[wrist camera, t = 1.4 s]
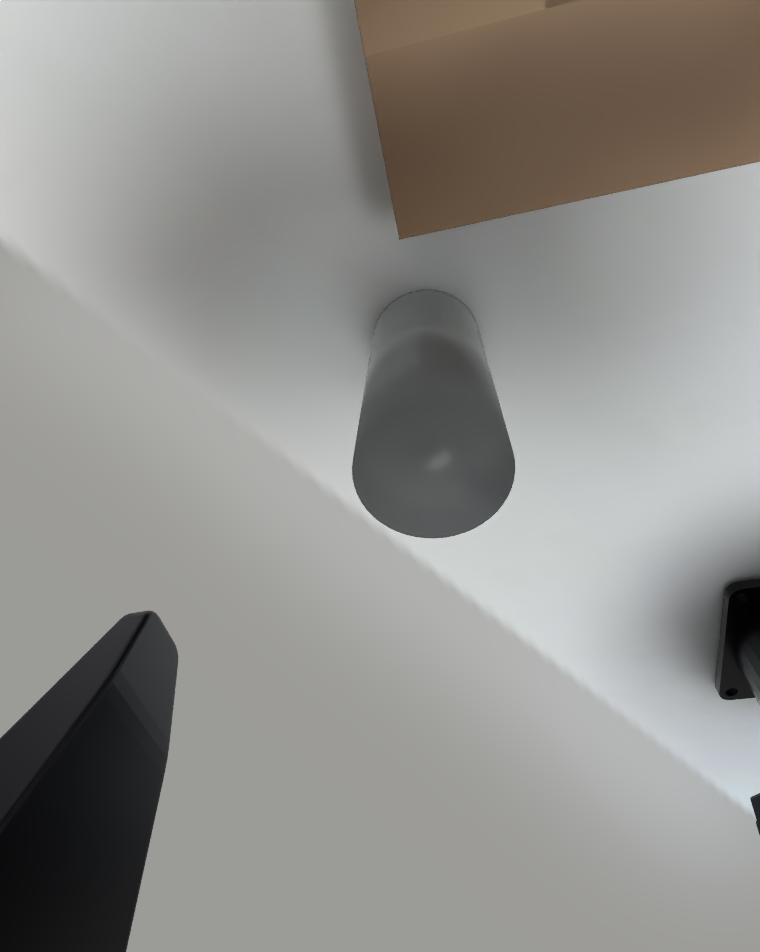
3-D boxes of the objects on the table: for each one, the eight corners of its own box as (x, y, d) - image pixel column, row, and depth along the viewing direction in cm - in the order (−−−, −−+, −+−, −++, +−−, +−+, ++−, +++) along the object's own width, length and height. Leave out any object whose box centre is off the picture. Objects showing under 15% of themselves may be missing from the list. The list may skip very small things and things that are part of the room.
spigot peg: (485, 382, 20) (522, 526, 14) (384, 400, 21) (371, 547, 14) (471, 279, 19) (506, 385, 12) (362, 301, 19) (335, 415, 12)
